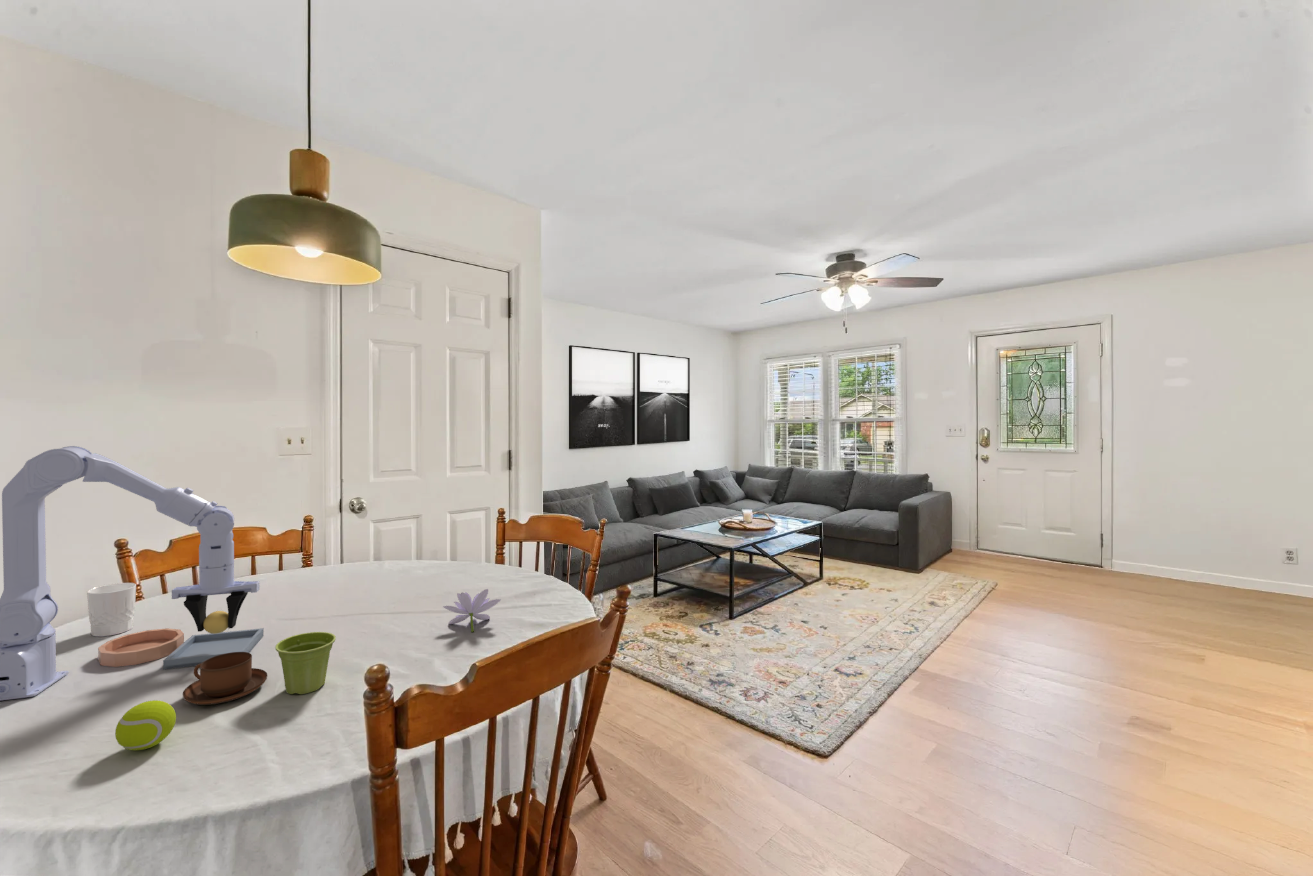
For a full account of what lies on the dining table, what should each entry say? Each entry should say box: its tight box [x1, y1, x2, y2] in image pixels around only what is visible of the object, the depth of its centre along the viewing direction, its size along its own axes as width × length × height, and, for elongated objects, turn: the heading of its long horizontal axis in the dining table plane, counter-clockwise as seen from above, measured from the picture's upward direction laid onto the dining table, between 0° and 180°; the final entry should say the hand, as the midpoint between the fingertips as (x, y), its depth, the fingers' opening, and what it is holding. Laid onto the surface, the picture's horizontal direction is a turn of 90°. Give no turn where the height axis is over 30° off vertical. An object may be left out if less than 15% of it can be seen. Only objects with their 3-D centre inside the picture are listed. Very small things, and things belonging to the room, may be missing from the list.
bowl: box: [97, 627, 185, 668], centre depth 112 cm, size 13×13×3 cm
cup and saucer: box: [182, 652, 268, 706], centre depth 97 cm, size 12×12×6 cm
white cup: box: [86, 582, 137, 637], centre depth 123 cm, size 8×8×10 cm
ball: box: [203, 610, 228, 634], centre depth 114 cm, size 5×5×5 cm
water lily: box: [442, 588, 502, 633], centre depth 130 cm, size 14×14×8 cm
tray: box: [162, 627, 265, 670], centre depth 114 cm, size 13×13×2 cm
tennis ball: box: [114, 699, 177, 751], centre depth 81 cm, size 7×7×7 cm
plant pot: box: [274, 631, 337, 695], centre depth 100 cm, size 9×9×9 cm
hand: (217, 628), depth 114 cm, fingers closed on ball, 5 cm apart
